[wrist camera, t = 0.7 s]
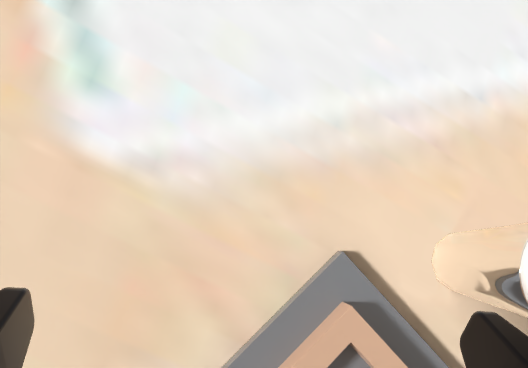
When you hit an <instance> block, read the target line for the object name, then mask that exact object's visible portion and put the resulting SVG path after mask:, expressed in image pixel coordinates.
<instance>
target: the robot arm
mask: <svg viewBox="0 0 528 368" xmlns="http://www.w3.org/2000/svg"><path fill="white" fill-rule="evenodd" d="M33 329H34V314H33V307H32V300H31V294H30V292H29V290H28V289H26V288H11V287H7V288H4V289H2V290H0V368H22V366H23V362H24V359H25V356H26V353H27V349H28V346H29V343H30V340H31V336H32V333H33ZM460 348H461V352H462V355H463V359H464V362H465V365H466V368H528V336H527V335H525V334H524V333H523V332H521V331H520V330H519V329H517V328H516V327H514V326H513V325H512V324H510V323H509V322H508V321H506V320H505V319H504V318H502V317H501V316H500V315H498V314H497V313H494V312H484V311H477V312H475V313H474V314H473V315H472V316H471V318H470V320H469V322H468V324H467V326H466V328H465V330H464V331H463V333H462V335H461V338H460Z"/></svg>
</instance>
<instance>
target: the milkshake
mask: <svg viewBox="0 0 528 368" xmlns="http://www.w3.org/2000/svg"><path fill="white" fill-rule="evenodd" d="M431 263H432V266H433V269H434V272H435V275H436V278H437V280H438V281H440V282H441V283H442V284H444V285H445V286H446V287H448V288H449V289H450V290H452V291H454V292H457V293H459V294H462V295H465V296H468V297H471V298H473V299H476V300H479V301H482V302H485V303H487V304H490V305H493V306H496V307H499V308H502V309H504V310H507V311H510V312H513V313H516V314H518V315H521V316H523V317H526V318H528V222H526V223H520V224H515V225H509V226H502V227H495V228H487V229H479V230H471V231H464V232H456V233H449V234H448V235H447V236H445V237H444V238H443V239H442V240H441V241H439V242H438V243H437V244H436V245H435V249H434V253H433V256H432V260H431Z"/></svg>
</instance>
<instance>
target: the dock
mask: <svg viewBox="0 0 528 368" xmlns="http://www.w3.org/2000/svg"><path fill="white" fill-rule="evenodd" d="M222 368H449V367H448V366H447V365H446V364H445V363H444V362H443V361H442V360H441V359H440V357H439V356H438V355H437V354H436V353H435V352H434V351H433V350H432V349H431V348H430V347H429V345H428V344H427V343H426V342H425V341H424V340H423V339H422V338H421V337H420V336H419V334H418V333H417V332H416V331H415V330H414V329H413V328H412V327H411V326H410V325H409V323H408V322H407V321H406V320H405V319H404V318H403V317H402V316H401V315H400V314H399V313H398V311H397V310H396V309H395V308H394V307H393V306H392V305H391V304H390V303H389V302H388V300H387V299H386V298H385V297H384V296H383V295H382V294H381V293H380V292H379V291H378V289H377V288H376V287H375V286H374V285H373V284H372V283H371V282H370V281H369V280H368V279H367V277H366V276H365V275H364V274H363V273H362V272H361V271H360V270H359V269H358V268H357V266H356V265H355V264H354V263H353V262H352V261H351V260H350V259H349V258H348V257H347V256H346V254H345V253H344V252H343V251H337V252H336V253H335V254H334V255H333V256H332V257H331V258H330V259H329V261H328V262H327V263H326V264H325V265H324V266H323V267H322V268H321V269H320V270H319V271H318V272H317V273H316V274H315V275H314V276H313V277H312V278H311V279H310V280H309V281H308V282H307V283H306V284H305V285H304V286H303V287H302V288H301V289H300V290H299V291H298V292H297V293H296V294H295V295H294V296H293V297H292V298H291V299H290V300H289V301H288V302H287V303H286V304H285V305H284V306H283V307H282V308H281V309H280V310H279V311H278V312H277V313H276V314H275V315H274V316H273V317H272V318H271V319H270V320H269V321H268V322H267V323H266V324H265V325H264V326H263V327H262V328H261V329H260V330H259V331H258V332H257V333H256V334H255V335H254V336H253V337H252V338H251V339H250V340H249V341H248V342H247V343H246V344H245V345H244V346H243V347H242V348H241V349H240V350H239V351H238V352H237V353H236V354H235V355H234V356H233V357H232V358H231V359H230V360H229V361H228V362H227V363H226V364H225V365H224V366H223V367H222Z"/></svg>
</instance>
